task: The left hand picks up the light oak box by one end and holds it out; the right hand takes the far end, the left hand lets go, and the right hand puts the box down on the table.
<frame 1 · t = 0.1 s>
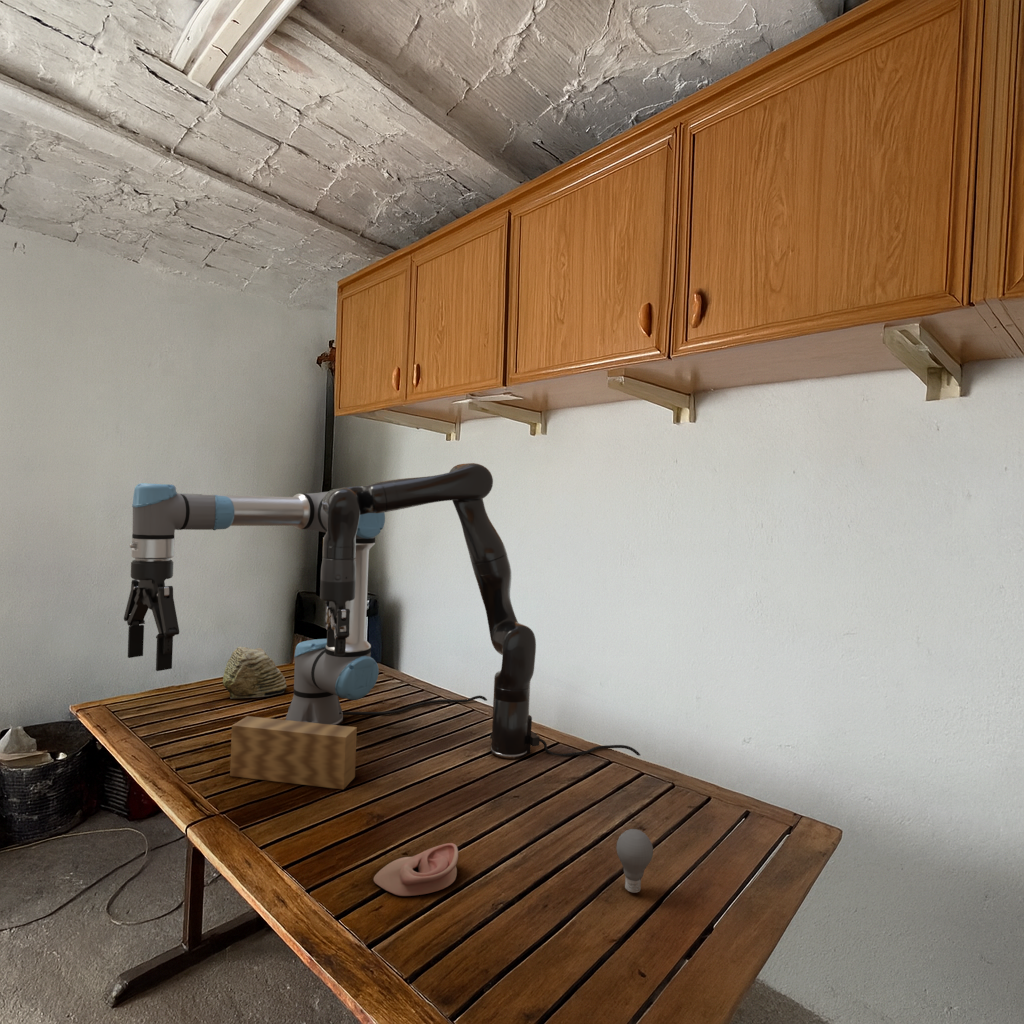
left hand: (149, 663, 129), 28 cm above the table, tool pointing down, fingers open, 13 cm apart
right hand: (335, 651, 141), 29 cm above the table, tool pointing down, fingers open, 8 cm apart
light bulb: (632, 891, 106), on the table
anatomical model: (416, 877, 107), on the table
fossil: (254, 694, 198), on the table
box: (292, 776, 143), on the table
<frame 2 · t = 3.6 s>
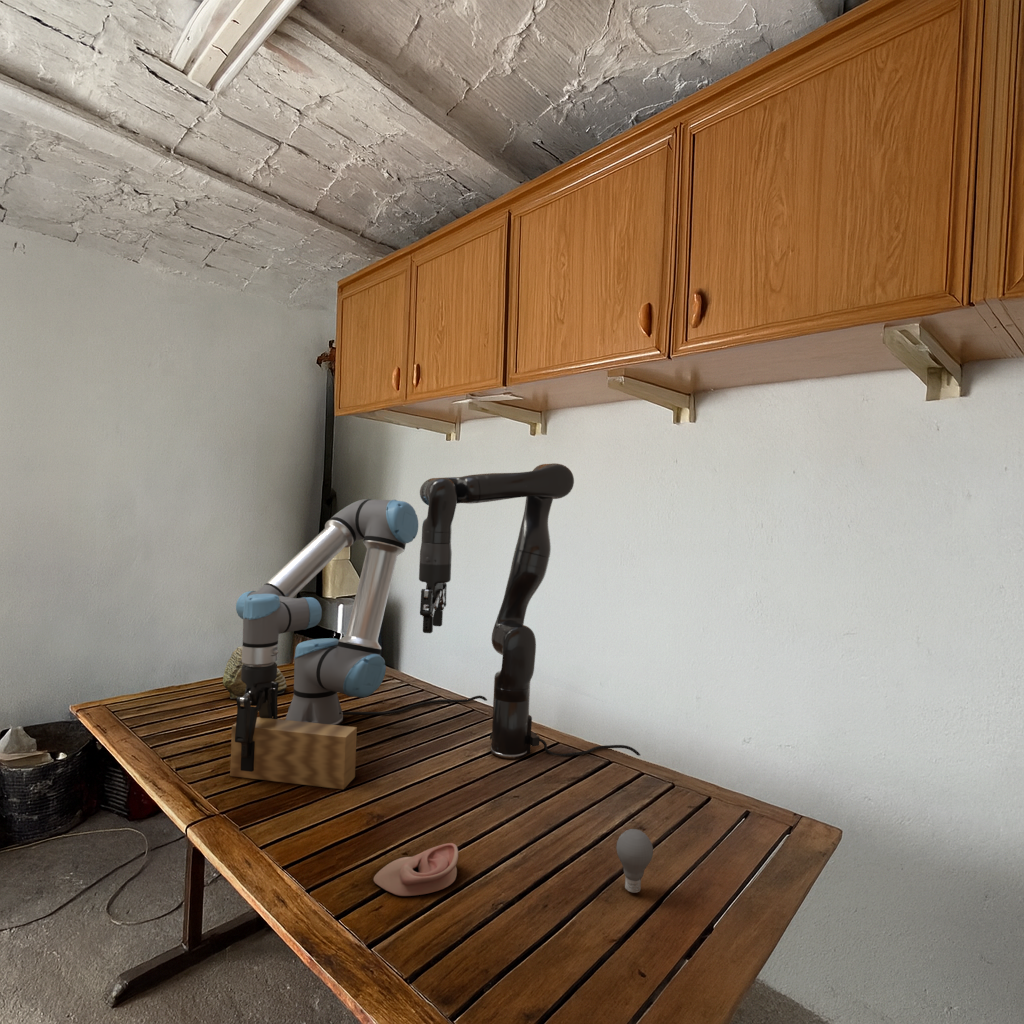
left hand: (255, 763, 144), 2 cm above the table, tool pointing down, fingers closed on box, 6 cm apart
right hand: (432, 629, 151), 33 cm above the table, tool pointing down, fingers open, 8 cm apart
box: (292, 776, 143), on the table, touching left hand
everything else where it was.
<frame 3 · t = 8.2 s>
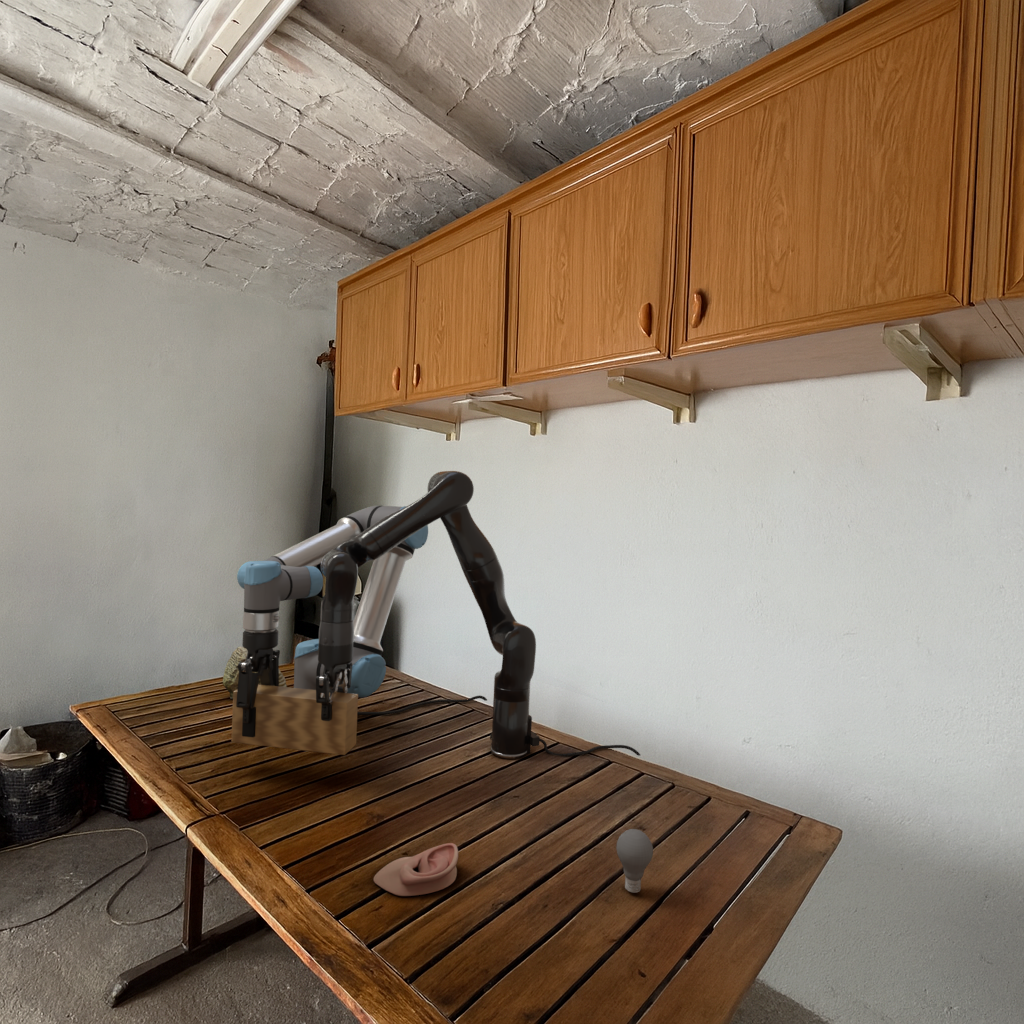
left hand: (257, 730, 144), 10 cm above the table, tool pointing down, fingers closed on box, 6 cm apart
right hand: (333, 714, 141), 15 cm above the table, tool pointing down, fingers closed on box, 6 cm apart
box: (294, 743, 143), point 8 cm above the table, touching left hand, right hand
everything else where it was.
when the left hand's fingers open (10 cm above the table, at t = 9.2 s): box stays where it is, held by the right hand.
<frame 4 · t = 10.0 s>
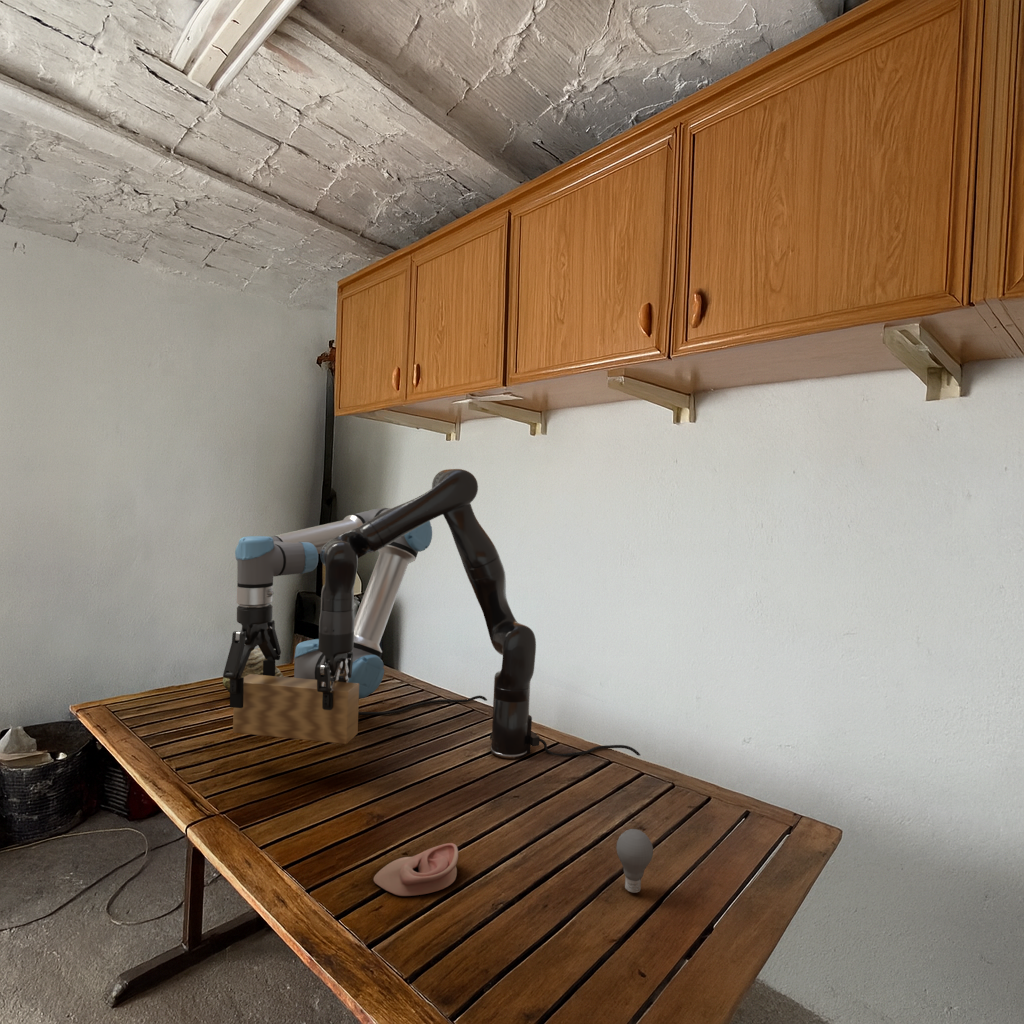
left hand: (253, 697, 144), 17 cm above the table, tool pointing down, fingers open, 13 cm apart
right hand: (334, 704, 141), 17 cm above the table, tool pointing down, fingers closed on box, 6 cm apart
box: (295, 733, 142), point 10 cm above the table, touching right hand
everything else where it was.
when the right hand's fingers open (8 cm above the table, at t = 13.2 s): box stays where it is, on the table.
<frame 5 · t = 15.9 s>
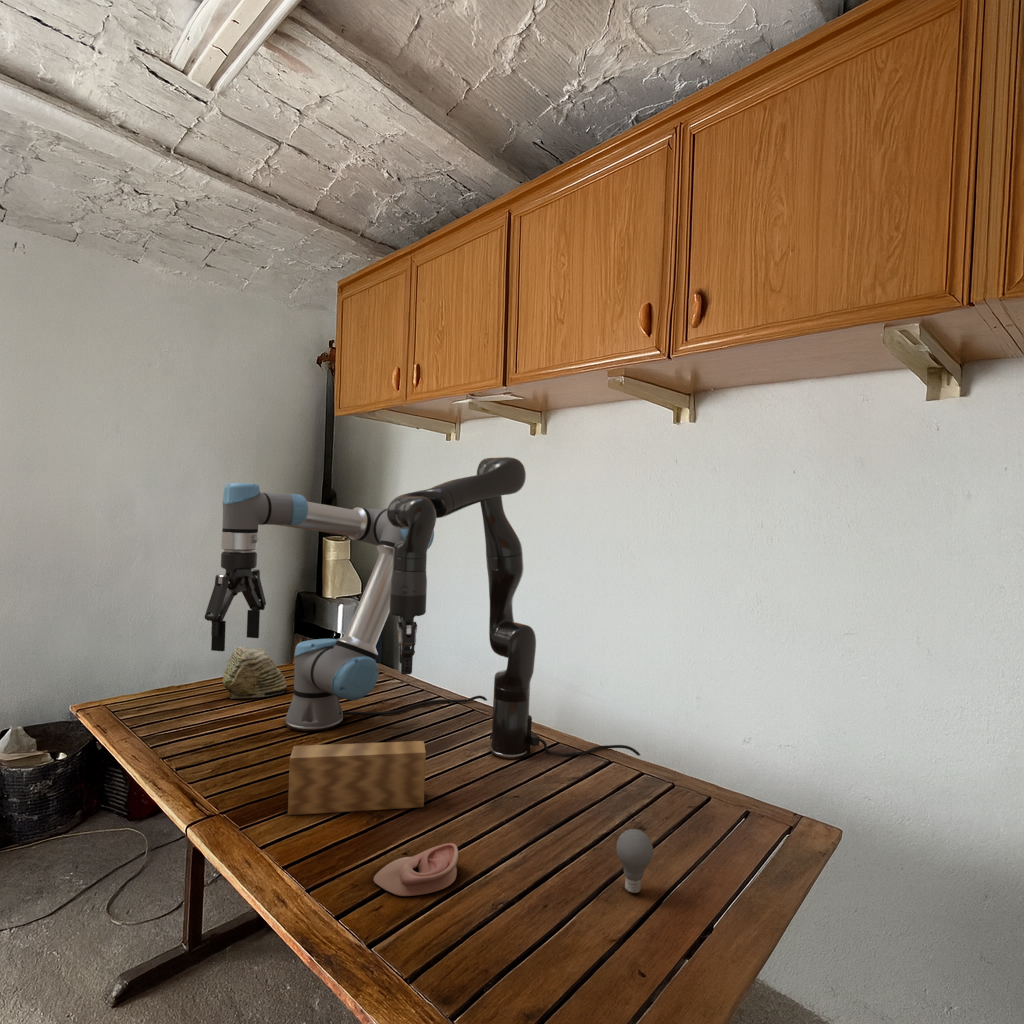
left hand: (236, 644, 144), 29 cm above the table, tool pointing down, fingers open, 13 cm apart
right hand: (405, 668, 133), 28 cm above the table, tool pointing down, fingers open, 8 cm apart
box: (357, 803, 131), on the table
everything else where it was.
at the end: box inside the target area (8.7 cm from its centre), on the table; the left hand is holding nothing; the right hand is holding nothing; box at rest at the end (0.0 cm/s) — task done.
